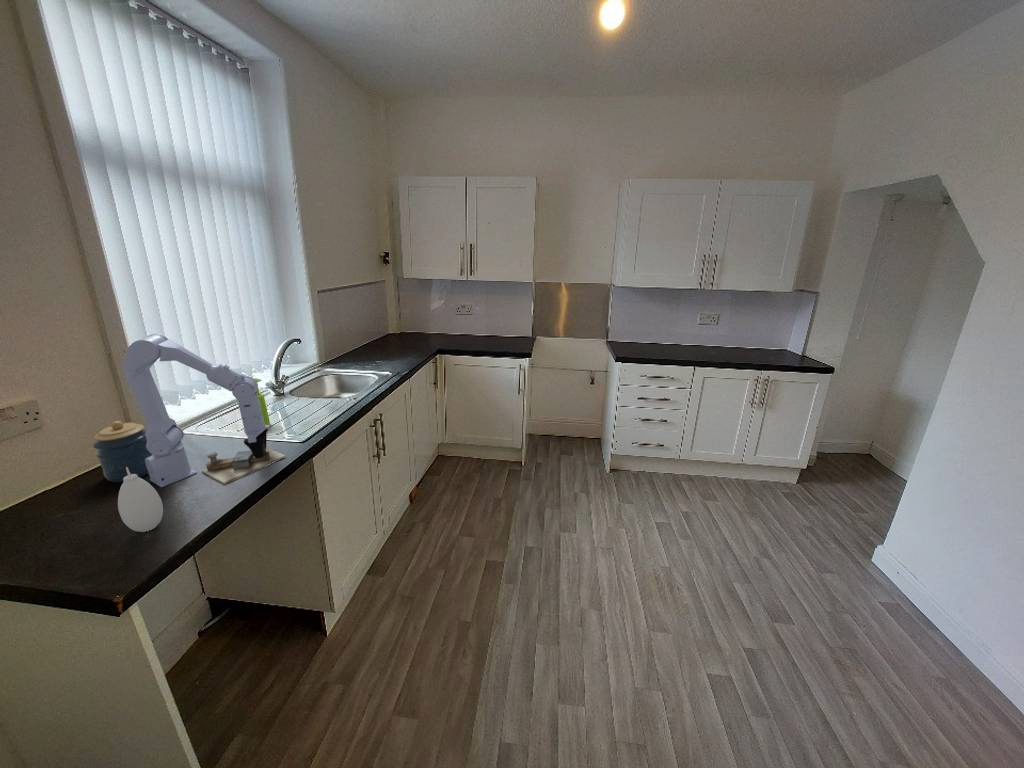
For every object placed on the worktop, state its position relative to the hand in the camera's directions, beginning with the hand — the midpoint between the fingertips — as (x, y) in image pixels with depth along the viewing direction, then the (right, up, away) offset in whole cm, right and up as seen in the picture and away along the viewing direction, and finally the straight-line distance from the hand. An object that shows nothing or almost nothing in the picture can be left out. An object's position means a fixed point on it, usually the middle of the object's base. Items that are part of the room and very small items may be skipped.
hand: (261, 453), depth 133 cm
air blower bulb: (-9, -14, -31) cm, 35 cm away
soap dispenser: (-16, +6, +28) cm, 33 cm away
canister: (-38, -5, -4) cm, 39 cm away
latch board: (-5, -4, -1) cm, 6 cm away
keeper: (-4, -4, -2) cm, 6 cm away
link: (-6, -3, -2) cm, 7 cm away
